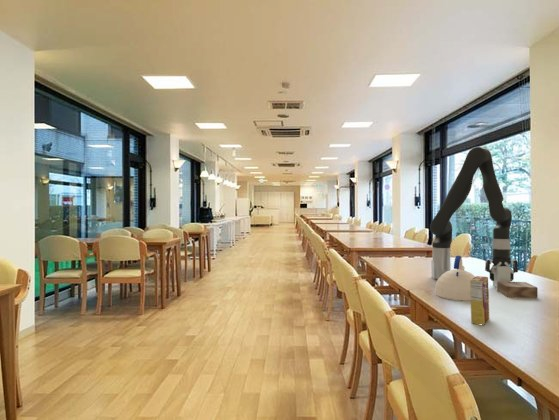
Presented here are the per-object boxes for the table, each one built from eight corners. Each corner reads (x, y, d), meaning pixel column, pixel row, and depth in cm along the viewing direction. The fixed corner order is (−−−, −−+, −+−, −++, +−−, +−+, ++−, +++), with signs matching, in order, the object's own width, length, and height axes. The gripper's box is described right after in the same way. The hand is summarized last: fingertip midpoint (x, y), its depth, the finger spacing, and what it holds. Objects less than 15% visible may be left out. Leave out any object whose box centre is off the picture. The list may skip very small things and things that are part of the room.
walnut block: (507, 297, 168) (507, 286, 168) (497, 291, 180) (497, 281, 180) (537, 299, 166) (537, 287, 166) (525, 292, 178) (525, 282, 178)
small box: (510, 289, 184) (510, 267, 184) (498, 288, 185) (498, 266, 185) (504, 285, 192) (504, 264, 192) (492, 285, 193) (492, 264, 193)
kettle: (485, 293, 177) (485, 254, 176) (482, 303, 159) (482, 260, 158) (438, 288, 187) (438, 251, 187) (431, 297, 169) (430, 257, 169)
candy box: (476, 317, 139) (476, 275, 139) (489, 319, 136) (489, 276, 136) (469, 323, 132) (469, 279, 132) (483, 325, 129) (483, 280, 129)
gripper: (513, 247, 191) (513, 279, 191) (483, 247, 193) (483, 279, 193) (520, 248, 184) (520, 282, 184) (488, 248, 186) (489, 282, 186)
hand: (501, 280), depth 189 cm, fingers open, 8 cm apart
